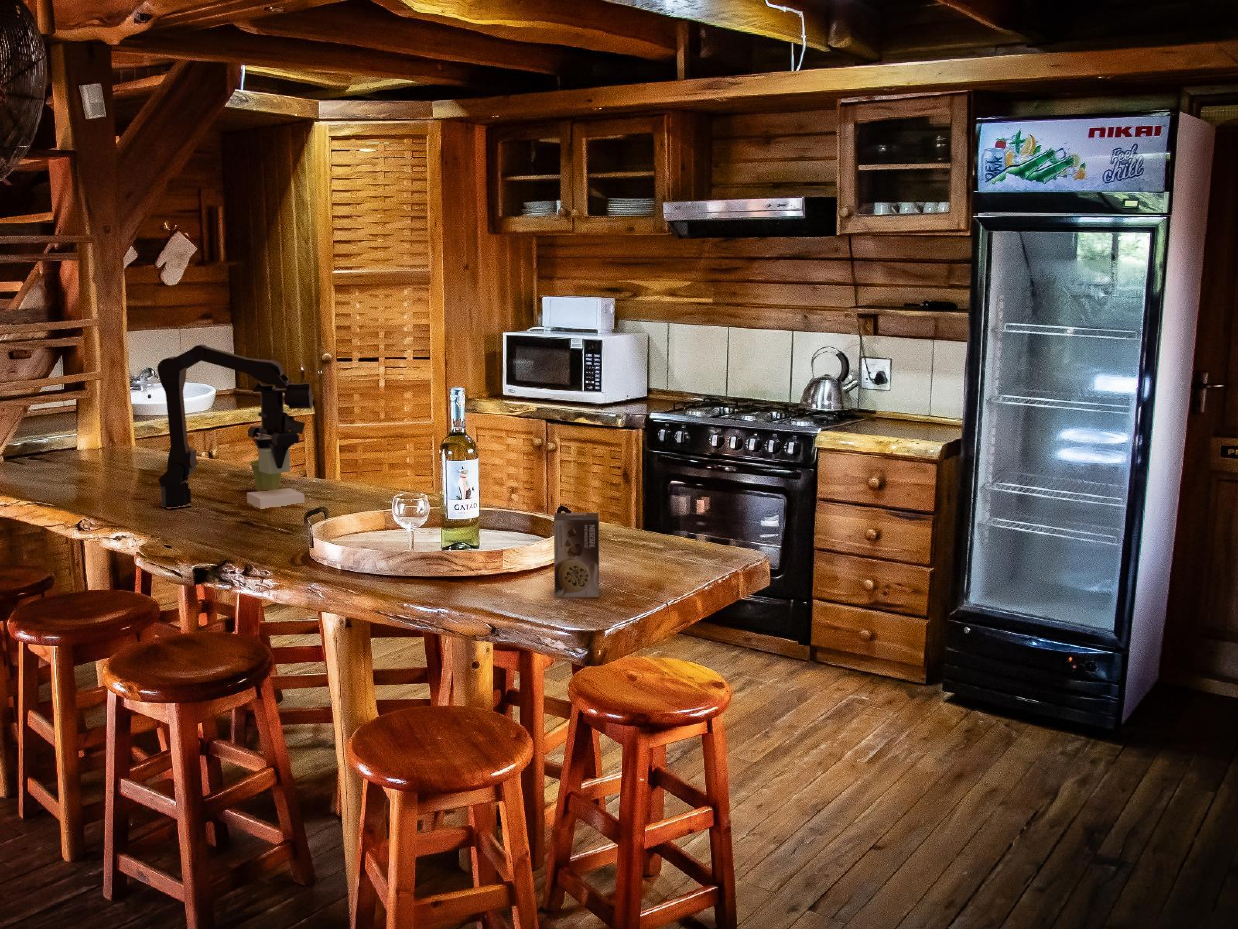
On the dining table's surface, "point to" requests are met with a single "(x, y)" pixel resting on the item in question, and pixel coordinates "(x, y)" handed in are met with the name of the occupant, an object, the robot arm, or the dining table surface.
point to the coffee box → (576, 555)
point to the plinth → (275, 498)
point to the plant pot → (265, 478)
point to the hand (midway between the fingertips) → (274, 466)
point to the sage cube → (272, 462)
